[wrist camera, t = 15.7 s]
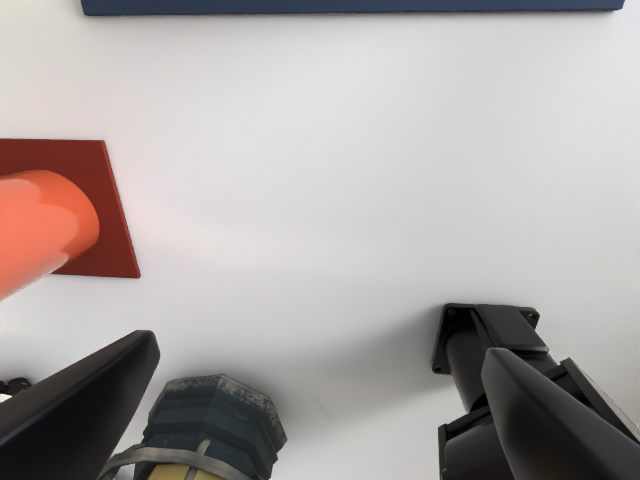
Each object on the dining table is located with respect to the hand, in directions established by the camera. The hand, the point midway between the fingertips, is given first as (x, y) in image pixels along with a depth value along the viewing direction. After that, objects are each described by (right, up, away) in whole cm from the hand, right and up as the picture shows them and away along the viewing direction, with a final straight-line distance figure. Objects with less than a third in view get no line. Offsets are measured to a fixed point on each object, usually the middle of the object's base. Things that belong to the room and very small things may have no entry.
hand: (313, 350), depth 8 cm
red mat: (-18, +5, +14) cm, 23 cm away
